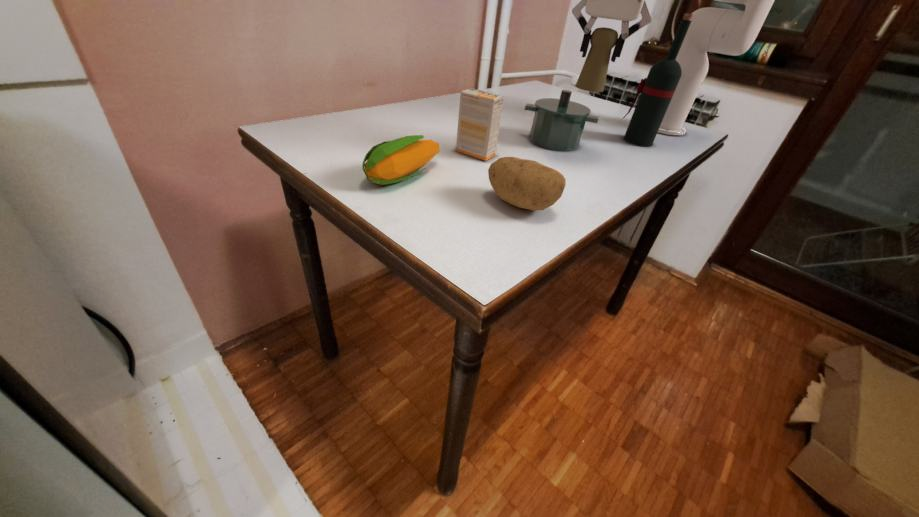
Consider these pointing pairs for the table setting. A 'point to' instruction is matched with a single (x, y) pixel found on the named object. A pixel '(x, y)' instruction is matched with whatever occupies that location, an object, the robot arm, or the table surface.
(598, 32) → the cork
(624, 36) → the robot arm
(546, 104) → the pot lid
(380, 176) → the corn
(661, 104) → the wine bottle
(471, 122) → the supplement box
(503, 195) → the potato
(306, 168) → the table surface
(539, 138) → the pot
